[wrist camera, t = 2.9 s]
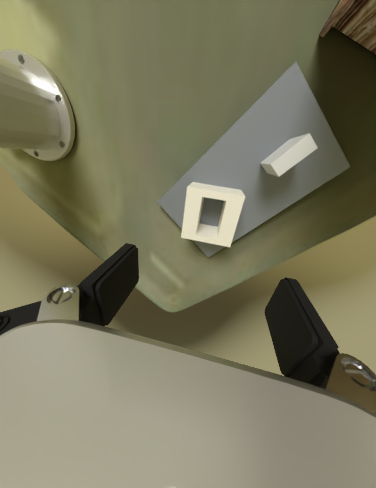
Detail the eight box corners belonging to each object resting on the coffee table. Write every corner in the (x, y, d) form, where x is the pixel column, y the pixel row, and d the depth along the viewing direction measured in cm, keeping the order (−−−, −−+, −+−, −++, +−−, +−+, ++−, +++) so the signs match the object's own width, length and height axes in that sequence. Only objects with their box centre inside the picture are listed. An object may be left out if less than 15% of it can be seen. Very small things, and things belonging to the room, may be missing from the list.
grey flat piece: (208, 253, 30) (206, 275, 24) (160, 200, 27) (143, 211, 21) (342, 166, 21) (388, 169, 15) (290, 68, 17) (323, 25, 12)
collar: (228, 234, 26) (230, 247, 22) (186, 226, 27) (181, 237, 23) (241, 189, 23) (245, 196, 19) (192, 182, 23) (187, 186, 19)
